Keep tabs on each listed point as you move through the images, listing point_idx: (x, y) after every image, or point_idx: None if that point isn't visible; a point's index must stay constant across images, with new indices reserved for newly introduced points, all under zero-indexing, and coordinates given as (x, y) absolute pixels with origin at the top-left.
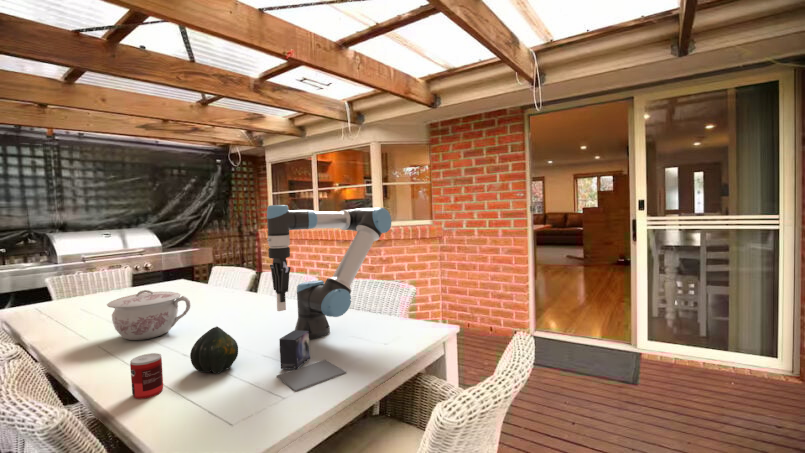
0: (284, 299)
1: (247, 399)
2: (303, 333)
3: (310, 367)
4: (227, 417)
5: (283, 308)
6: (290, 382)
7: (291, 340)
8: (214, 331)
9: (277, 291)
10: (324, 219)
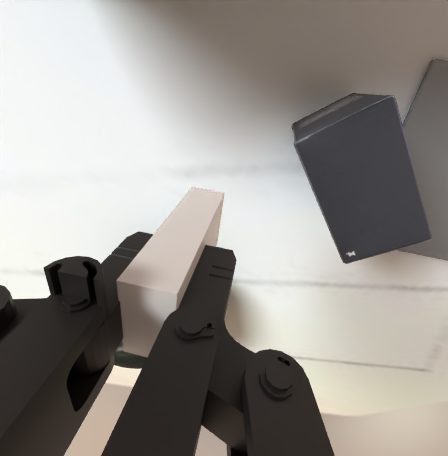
0: (232, 273)
1: (376, 322)
2: (403, 153)
3: (421, 151)
4: (396, 362)
5: (218, 217)
6: (428, 247)
7: (408, 243)
8: (135, 363)
9: (111, 362)
10: None
